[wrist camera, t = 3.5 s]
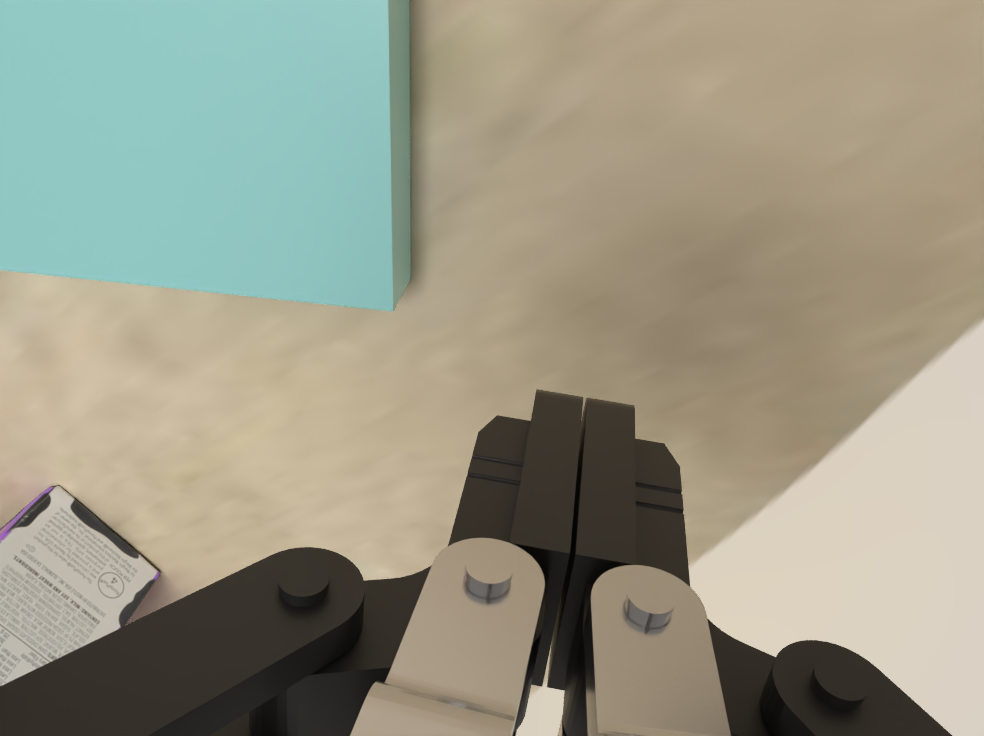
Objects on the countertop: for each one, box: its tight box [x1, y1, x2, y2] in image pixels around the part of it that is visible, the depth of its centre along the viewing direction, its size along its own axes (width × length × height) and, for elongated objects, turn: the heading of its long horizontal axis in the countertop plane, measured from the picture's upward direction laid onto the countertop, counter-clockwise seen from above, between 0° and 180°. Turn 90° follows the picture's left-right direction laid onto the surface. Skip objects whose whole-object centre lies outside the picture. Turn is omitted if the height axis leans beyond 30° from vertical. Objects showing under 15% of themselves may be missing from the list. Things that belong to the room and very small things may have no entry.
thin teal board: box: [0, 0, 411, 311], centre depth 25 cm, size 16×9×3 cm, turn 87°
